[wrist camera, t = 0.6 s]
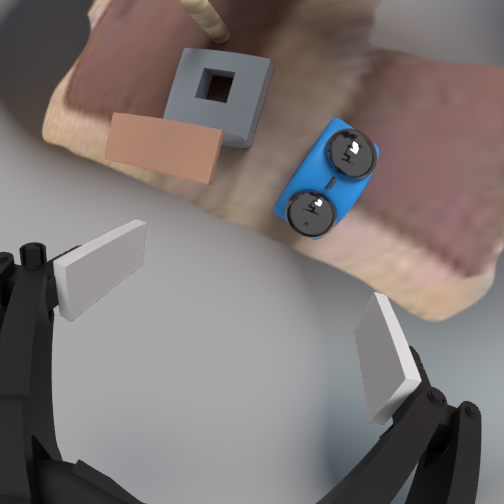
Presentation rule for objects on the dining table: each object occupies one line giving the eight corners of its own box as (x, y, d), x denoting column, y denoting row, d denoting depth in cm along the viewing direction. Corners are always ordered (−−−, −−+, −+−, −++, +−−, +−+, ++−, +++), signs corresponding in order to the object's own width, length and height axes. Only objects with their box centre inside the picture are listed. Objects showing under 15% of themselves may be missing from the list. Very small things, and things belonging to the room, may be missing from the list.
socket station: (194, 56, 33) (143, 18, 19) (274, 68, 32) (255, 21, 18) (167, 154, 39) (104, 159, 25) (243, 174, 38) (207, 184, 24)
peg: (215, 27, 31) (184, -9, 20) (232, 29, 31) (206, -10, 20) (209, 42, 32) (176, 9, 21) (227, 44, 32) (198, 9, 21)
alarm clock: (328, 123, 34) (344, 102, 20) (366, 149, 34) (403, 146, 20) (276, 201, 38) (260, 227, 25) (313, 225, 39) (318, 266, 25)
